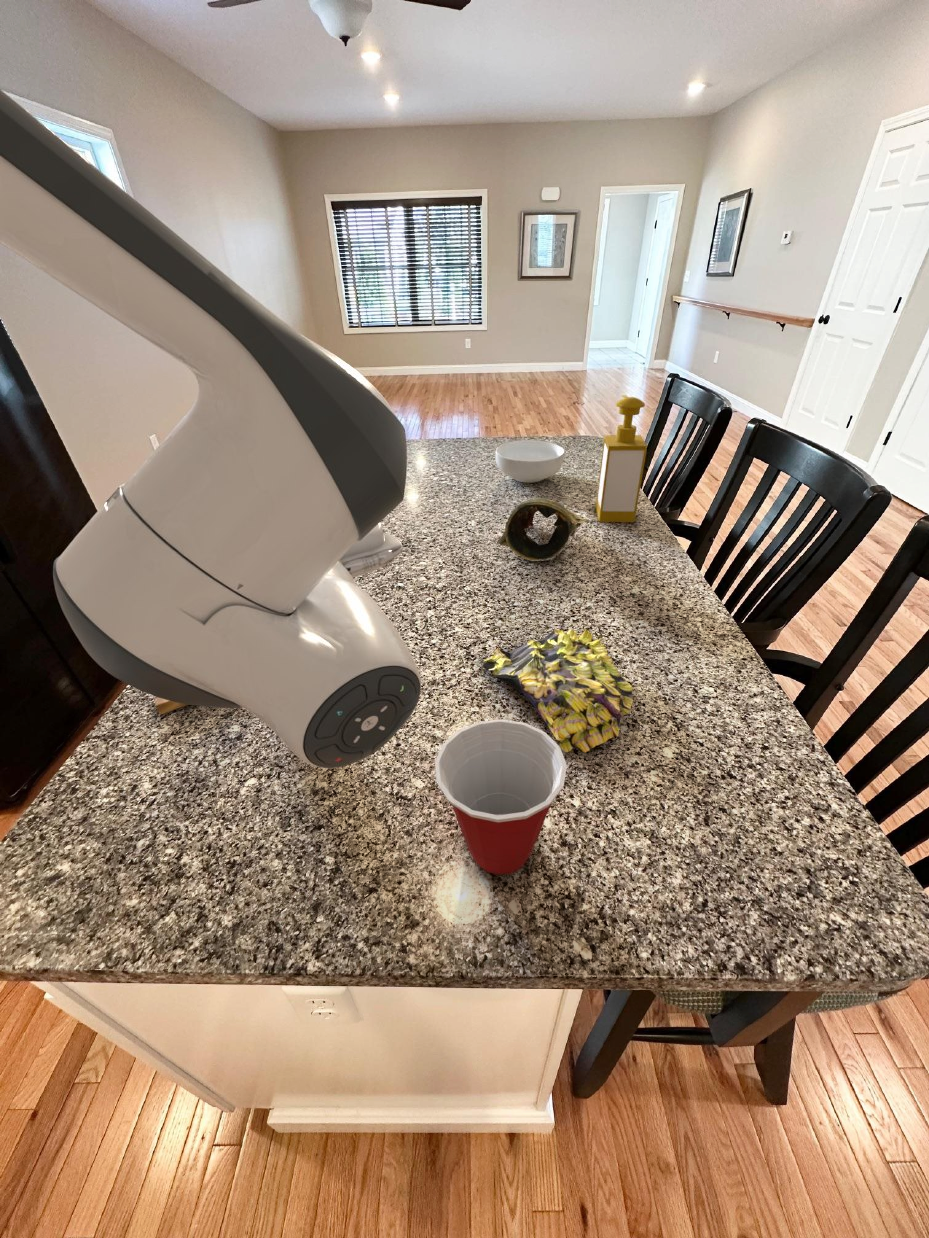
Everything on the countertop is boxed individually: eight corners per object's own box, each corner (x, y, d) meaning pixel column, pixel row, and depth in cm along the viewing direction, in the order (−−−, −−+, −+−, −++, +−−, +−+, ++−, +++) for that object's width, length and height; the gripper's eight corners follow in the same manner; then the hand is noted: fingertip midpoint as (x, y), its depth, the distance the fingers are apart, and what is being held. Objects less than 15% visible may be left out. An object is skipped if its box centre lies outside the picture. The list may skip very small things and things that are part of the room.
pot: (585, 482, 101) (580, 485, 84) (598, 538, 103) (595, 551, 87) (503, 505, 107) (482, 512, 90) (516, 558, 109) (499, 574, 92)
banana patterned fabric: (660, 740, 60) (662, 710, 55) (528, 789, 60) (518, 763, 55) (589, 623, 74) (585, 592, 69) (482, 663, 74) (471, 634, 69)
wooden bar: (160, 715, 64) (155, 705, 64) (158, 707, 66) (154, 698, 65) (242, 685, 69) (238, 676, 68) (239, 678, 70) (236, 669, 69)
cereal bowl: (519, 494, 121) (520, 465, 117) (483, 474, 133) (482, 447, 129) (576, 480, 127) (579, 451, 123) (537, 462, 139) (538, 436, 135)
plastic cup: (528, 783, 54) (533, 700, 47) (577, 878, 46) (592, 794, 39) (429, 812, 52) (419, 730, 45) (462, 919, 43) (456, 837, 36)
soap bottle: (625, 499, 117) (642, 387, 103) (634, 522, 106) (654, 401, 93) (593, 498, 117) (605, 387, 104) (599, 521, 107) (614, 402, 94)
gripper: (408, 517, 40) (345, 470, 50) (113, 596, 32) (107, 521, 42) (415, 586, 44) (355, 529, 54) (152, 673, 36) (138, 587, 45)
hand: (245, 526), depth 48 cm, fingers open, 8 cm apart
